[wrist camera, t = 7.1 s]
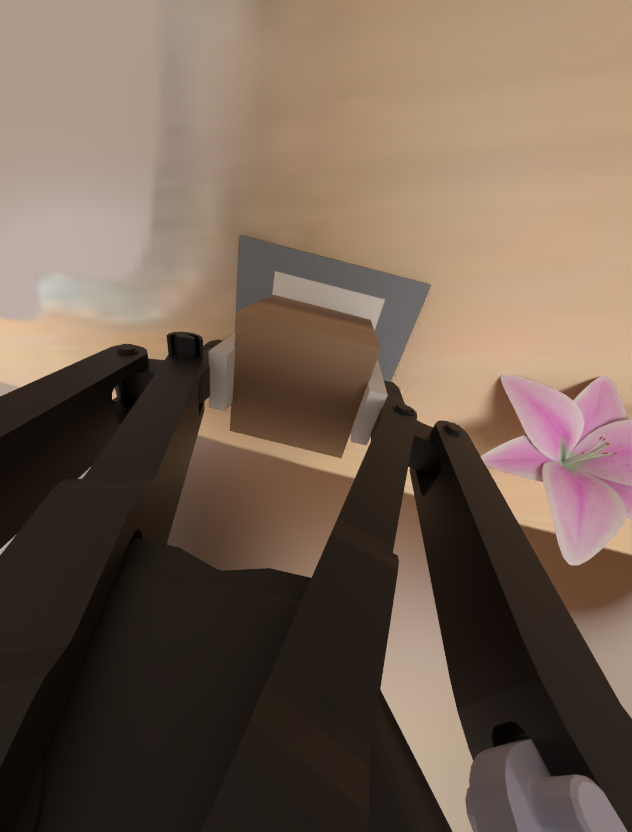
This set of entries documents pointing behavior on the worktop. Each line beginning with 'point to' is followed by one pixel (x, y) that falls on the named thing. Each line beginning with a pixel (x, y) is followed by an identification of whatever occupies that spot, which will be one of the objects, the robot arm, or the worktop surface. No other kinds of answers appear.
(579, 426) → the lily
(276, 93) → the worktop surface
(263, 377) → the walnut block
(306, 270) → the slate build plate
